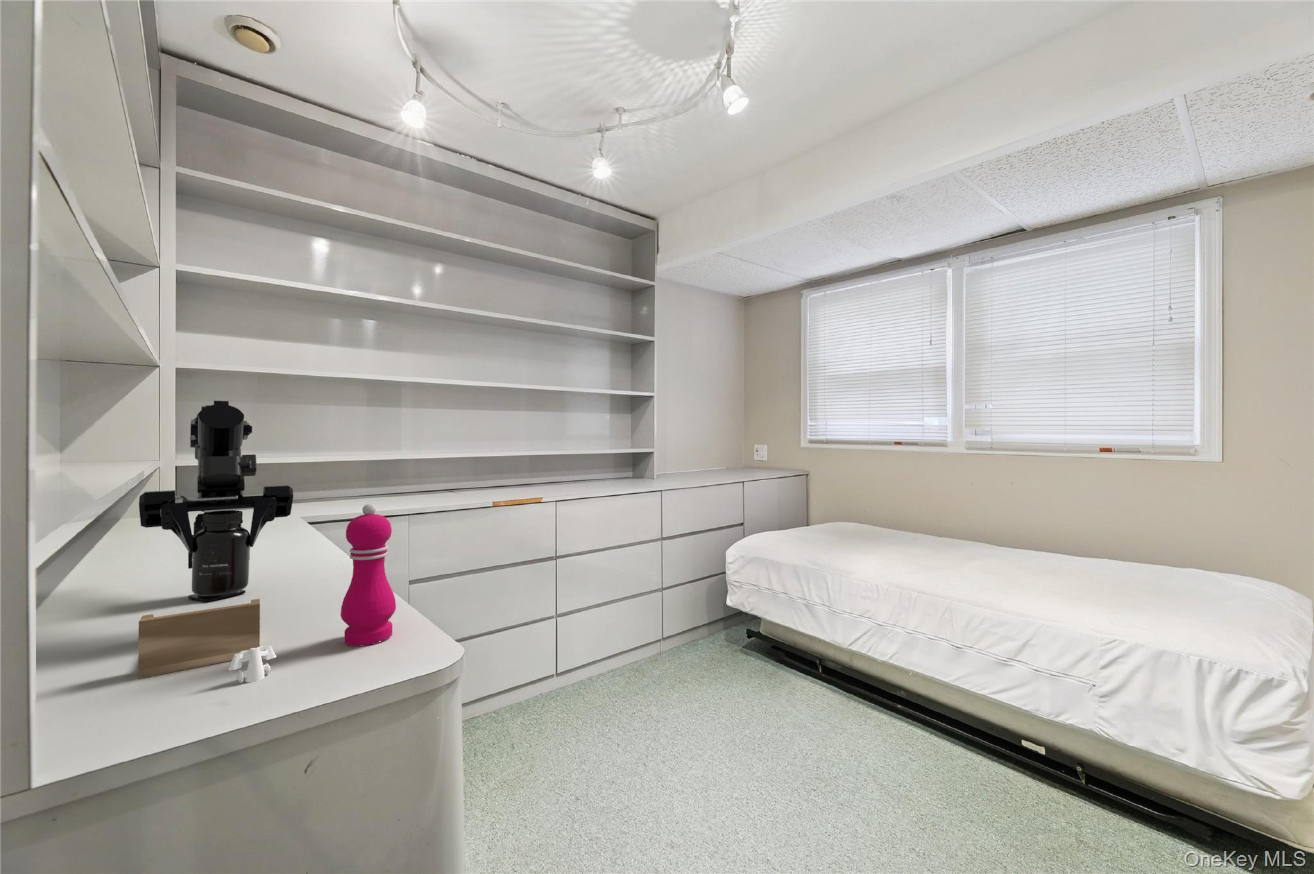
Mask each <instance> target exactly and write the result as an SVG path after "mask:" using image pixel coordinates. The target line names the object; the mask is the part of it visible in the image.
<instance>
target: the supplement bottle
mask: <svg viewBox="0 0 1314 874" xmlns="http://www.w3.org/2000/svg"><path fill="white" fill-rule="evenodd" d="M202 514H203V516H202V526H204V529H203V530H201V531H199V532H198V533H197V534H196V535H195V536H194V538H193V556H192V568H191V592H192V593H193V594H196V595H203V596H209V595H221V594H227V593H232V592H236V591H240V590H245V589H246V587H247V586H249V582H250V581H249V577H250V560H249V551H250V550H251V547H250V532H249V531H248V529H246V528H245V527H241V526H242V524H243V522H244V520H243V514H244V513H243V511H242V510H225V511H212V512H206V513H204V512H203V513H202Z"/></svg>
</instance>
